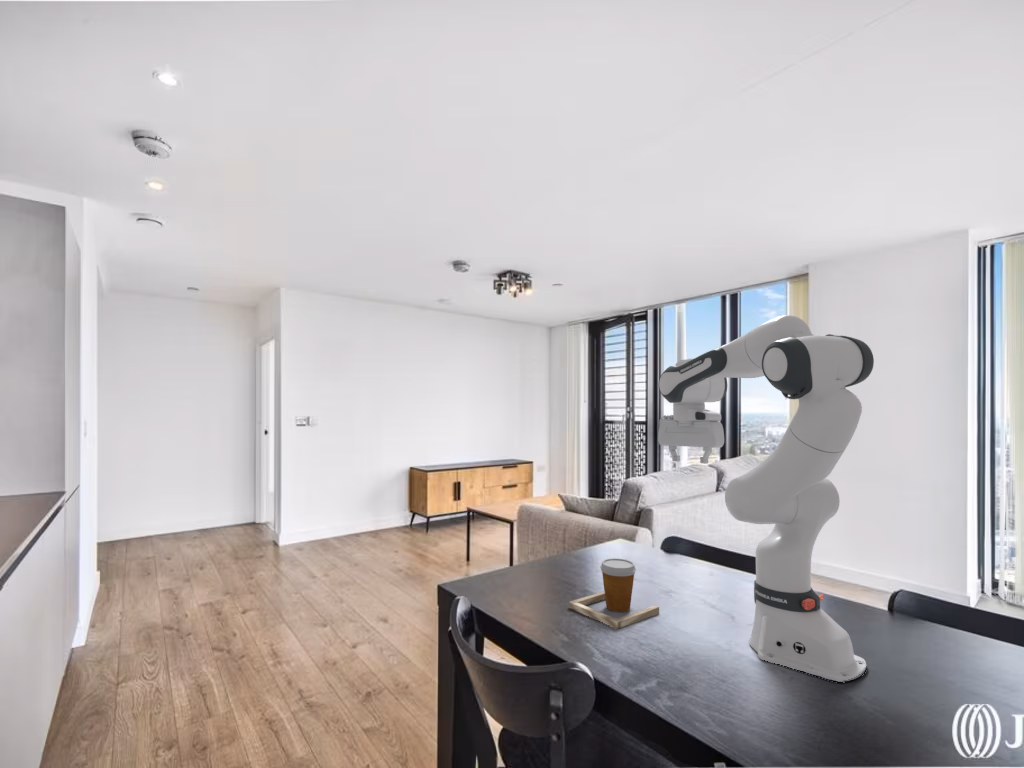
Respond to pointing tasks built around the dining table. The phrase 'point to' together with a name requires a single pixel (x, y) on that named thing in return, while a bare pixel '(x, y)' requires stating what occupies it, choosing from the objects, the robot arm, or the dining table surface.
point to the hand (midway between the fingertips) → (689, 462)
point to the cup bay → (616, 623)
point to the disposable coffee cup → (618, 583)
